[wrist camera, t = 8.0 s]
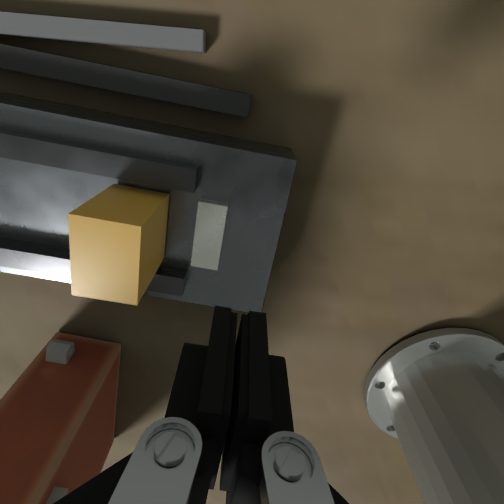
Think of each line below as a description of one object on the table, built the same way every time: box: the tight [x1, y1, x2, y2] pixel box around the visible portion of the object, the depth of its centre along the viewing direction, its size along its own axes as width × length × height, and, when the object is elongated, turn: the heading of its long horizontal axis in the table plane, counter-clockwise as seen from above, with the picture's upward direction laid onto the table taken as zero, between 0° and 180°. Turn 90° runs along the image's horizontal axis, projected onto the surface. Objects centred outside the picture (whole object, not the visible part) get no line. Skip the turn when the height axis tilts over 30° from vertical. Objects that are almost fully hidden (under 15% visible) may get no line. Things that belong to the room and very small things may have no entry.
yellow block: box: [68, 184, 169, 306], centre depth 17 cm, size 3×4×5 cm
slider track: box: [0, 92, 297, 312], centre depth 21 cm, size 24×10×5 cm, turn 79°
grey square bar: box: [0, 12, 206, 53], centre depth 19 cm, size 14×1×1 cm, turn 85°
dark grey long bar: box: [0, 43, 252, 117], centre depth 20 cm, size 16×1×1 cm, turn 79°
